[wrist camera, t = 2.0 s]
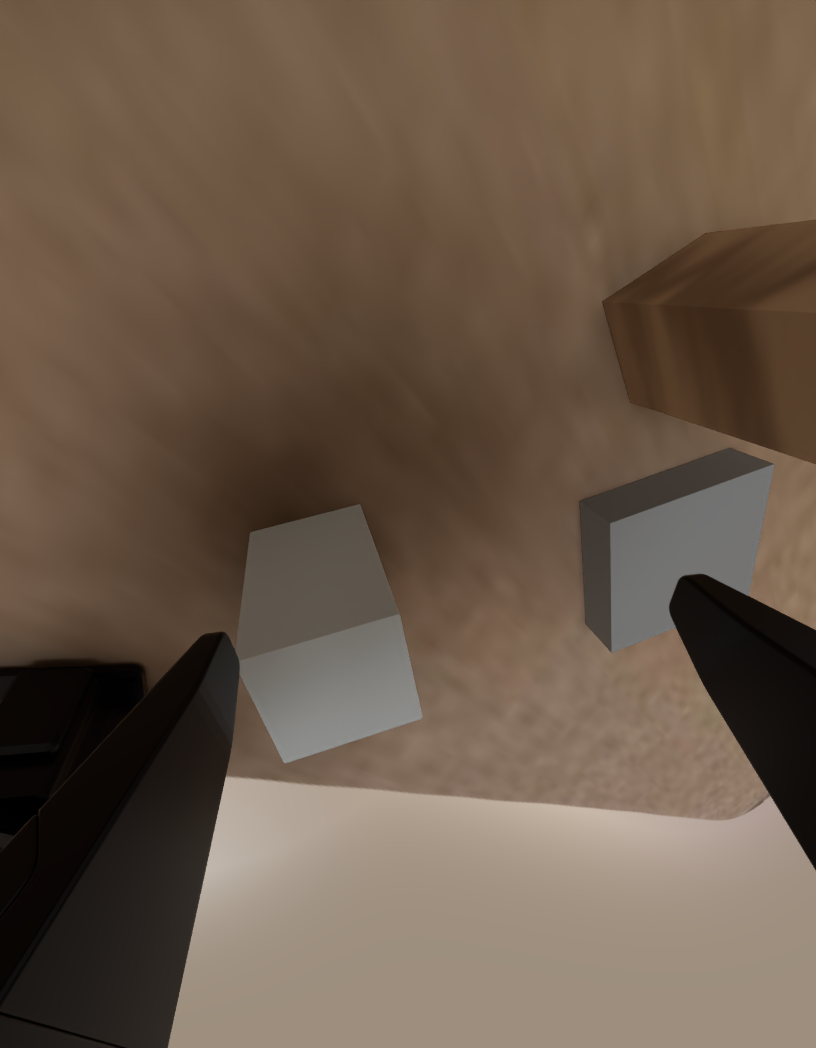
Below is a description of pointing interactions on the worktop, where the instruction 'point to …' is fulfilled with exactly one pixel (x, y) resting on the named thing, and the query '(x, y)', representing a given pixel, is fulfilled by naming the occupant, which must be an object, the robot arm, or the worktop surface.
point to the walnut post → (727, 335)
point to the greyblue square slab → (669, 541)
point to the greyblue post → (322, 635)
